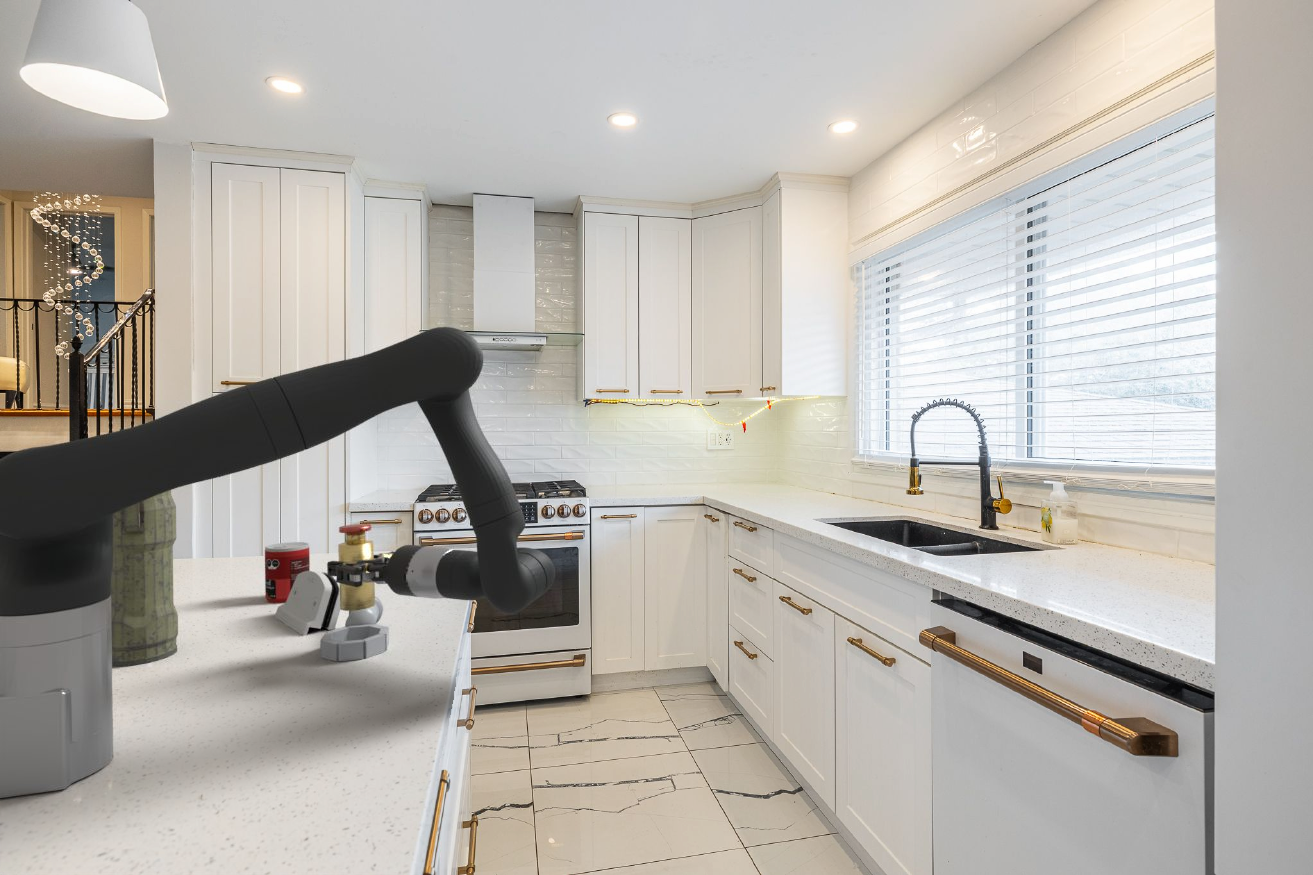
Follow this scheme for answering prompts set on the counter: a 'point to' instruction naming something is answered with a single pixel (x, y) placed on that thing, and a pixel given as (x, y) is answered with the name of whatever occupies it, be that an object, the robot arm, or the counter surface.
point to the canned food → (284, 568)
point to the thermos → (143, 582)
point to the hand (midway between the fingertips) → (344, 564)
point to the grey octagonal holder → (357, 636)
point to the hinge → (311, 602)
